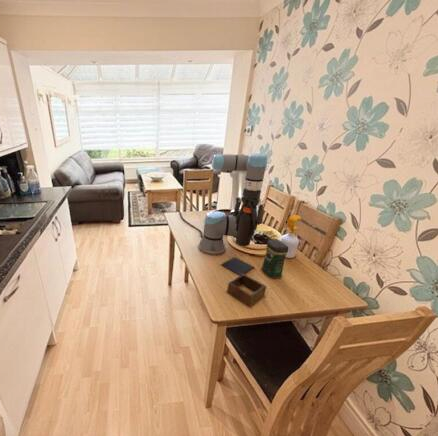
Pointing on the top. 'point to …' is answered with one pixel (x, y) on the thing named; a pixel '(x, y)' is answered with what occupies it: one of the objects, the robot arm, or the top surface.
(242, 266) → the mat
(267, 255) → the coffee jar
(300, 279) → the top surface
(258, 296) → the box
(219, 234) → the robot arm
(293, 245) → the soap bottle
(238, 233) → the vinegar
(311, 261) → the top surface
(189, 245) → the top surface
